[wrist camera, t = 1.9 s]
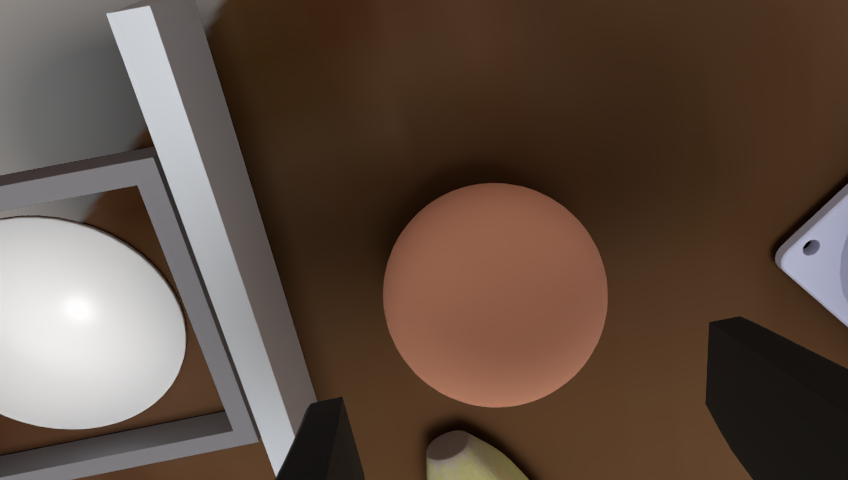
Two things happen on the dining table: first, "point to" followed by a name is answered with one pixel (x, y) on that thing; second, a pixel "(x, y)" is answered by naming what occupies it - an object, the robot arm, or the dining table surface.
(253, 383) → the acrylic wall
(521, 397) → the ball
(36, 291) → the grey square frame
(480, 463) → the banana
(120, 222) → the dining table surface
